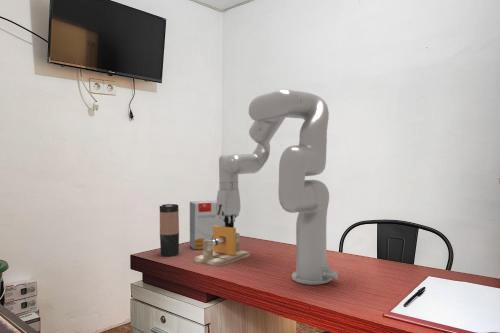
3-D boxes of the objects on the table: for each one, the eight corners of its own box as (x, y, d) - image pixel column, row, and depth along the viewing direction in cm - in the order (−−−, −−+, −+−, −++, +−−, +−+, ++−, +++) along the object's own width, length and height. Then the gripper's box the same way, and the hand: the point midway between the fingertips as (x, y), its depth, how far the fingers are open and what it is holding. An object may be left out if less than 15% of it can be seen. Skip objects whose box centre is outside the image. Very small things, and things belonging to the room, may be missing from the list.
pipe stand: (249, 255, 153) (249, 234, 153) (219, 266, 139) (219, 243, 139) (224, 251, 161) (224, 231, 161) (193, 261, 147) (193, 238, 146)
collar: (236, 253, 149) (235, 227, 149) (232, 254, 147) (232, 228, 147) (216, 250, 155) (216, 225, 155) (213, 251, 153) (212, 226, 153)
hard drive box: (193, 250, 164) (193, 203, 163) (189, 246, 171) (188, 201, 170) (228, 246, 170) (227, 201, 169) (222, 243, 177) (222, 199, 176)
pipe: (238, 240, 156) (238, 233, 156) (209, 248, 142) (209, 241, 142) (233, 239, 157) (233, 233, 157) (204, 247, 144) (204, 240, 144)
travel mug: (182, 254, 156) (181, 205, 156) (164, 257, 152) (163, 206, 152) (174, 251, 163) (174, 203, 162) (157, 253, 158) (156, 205, 158)
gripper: (233, 184, 161) (234, 228, 162) (208, 187, 149) (209, 234, 150) (247, 185, 157) (248, 230, 157) (223, 188, 145) (224, 236, 145)
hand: (229, 232), depth 153 cm, fingers closed
